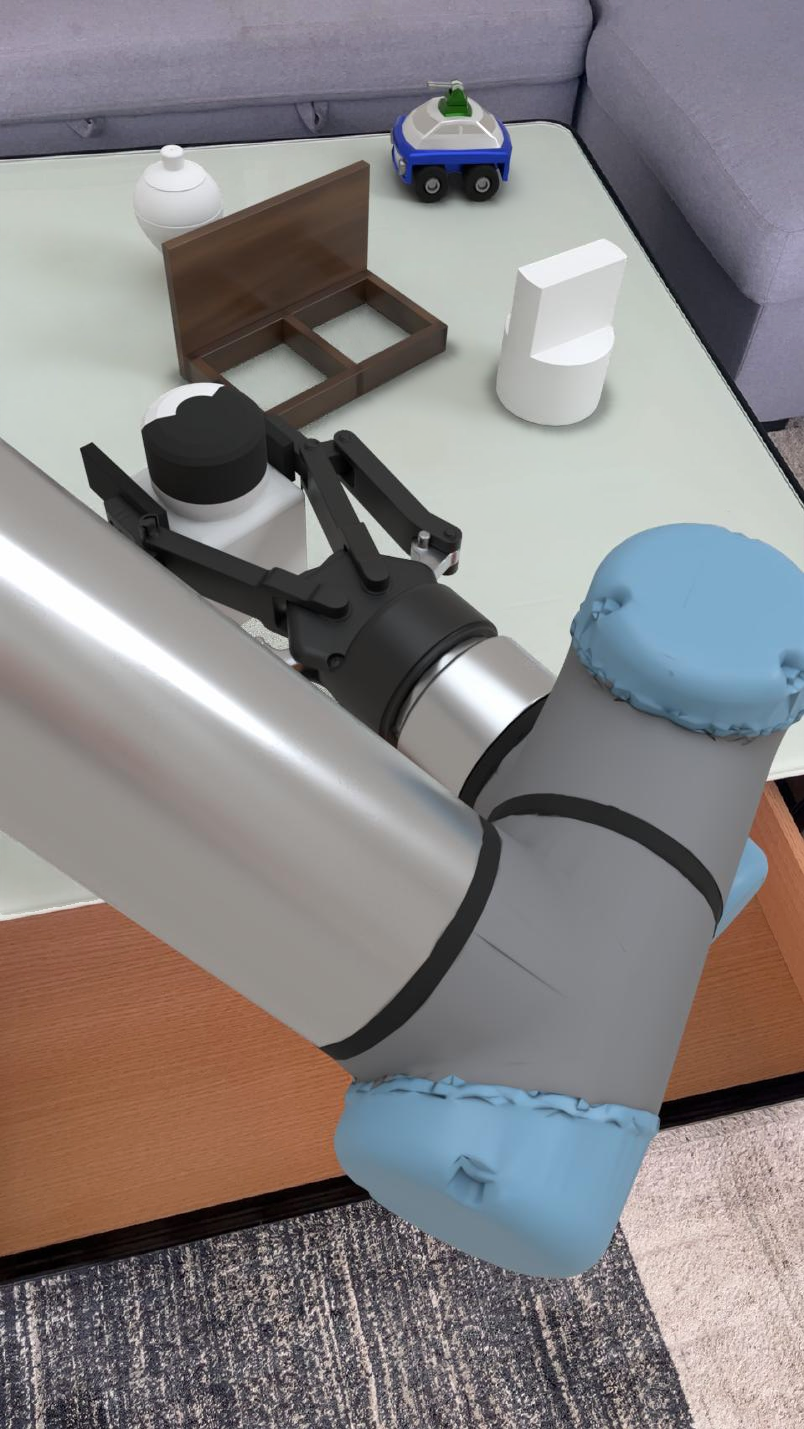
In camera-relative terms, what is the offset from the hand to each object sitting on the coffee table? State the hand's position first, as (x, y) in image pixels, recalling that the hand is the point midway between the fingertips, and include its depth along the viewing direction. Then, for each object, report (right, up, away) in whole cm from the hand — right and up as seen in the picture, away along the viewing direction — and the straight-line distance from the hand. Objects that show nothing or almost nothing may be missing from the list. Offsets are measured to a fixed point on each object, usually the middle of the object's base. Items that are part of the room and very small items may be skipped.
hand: (155, 432), depth 57 cm
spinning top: (-6, +25, +41) cm, 48 cm away
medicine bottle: (+3, -7, +4) cm, 9 cm away
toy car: (+18, +40, +53) cm, 69 cm away
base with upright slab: (+26, +13, +34) cm, 45 cm away
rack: (+6, +15, +34) cm, 38 cm away
